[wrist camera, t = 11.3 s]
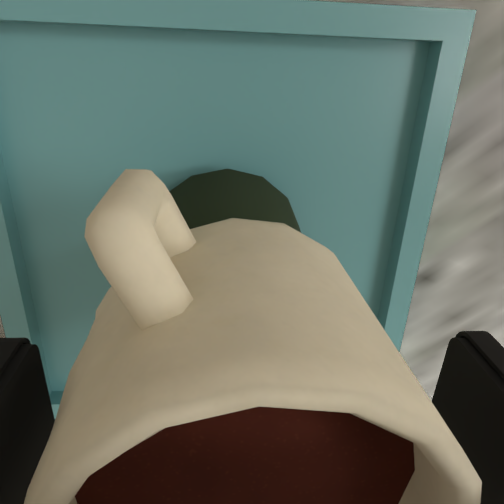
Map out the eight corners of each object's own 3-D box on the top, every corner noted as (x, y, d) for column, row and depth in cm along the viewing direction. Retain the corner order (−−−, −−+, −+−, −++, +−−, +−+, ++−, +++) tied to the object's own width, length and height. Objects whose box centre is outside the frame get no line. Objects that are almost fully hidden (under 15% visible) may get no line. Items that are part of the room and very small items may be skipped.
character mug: (81, 153, 16) (-260, 412, 4) (251, 75, 15) (394, 125, 4) (204, 357, 21) (201, 752, 9) (339, 302, 20) (527, 645, 8)
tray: (453, 14, 16) (476, 10, 15) (377, 384, 23) (387, 404, 22) (-56, -15, 14) (-84, -23, 13) (38, 398, 21) (27, 421, 20)
